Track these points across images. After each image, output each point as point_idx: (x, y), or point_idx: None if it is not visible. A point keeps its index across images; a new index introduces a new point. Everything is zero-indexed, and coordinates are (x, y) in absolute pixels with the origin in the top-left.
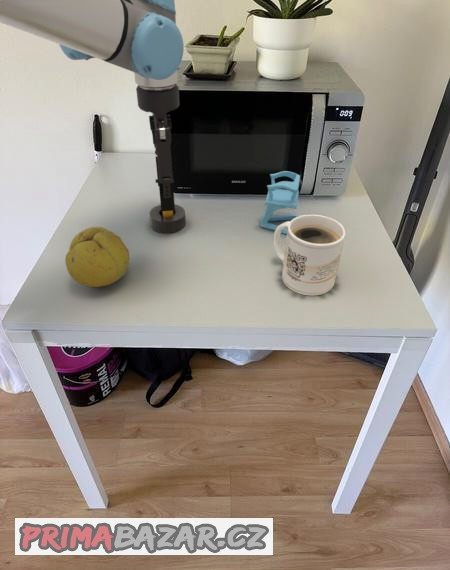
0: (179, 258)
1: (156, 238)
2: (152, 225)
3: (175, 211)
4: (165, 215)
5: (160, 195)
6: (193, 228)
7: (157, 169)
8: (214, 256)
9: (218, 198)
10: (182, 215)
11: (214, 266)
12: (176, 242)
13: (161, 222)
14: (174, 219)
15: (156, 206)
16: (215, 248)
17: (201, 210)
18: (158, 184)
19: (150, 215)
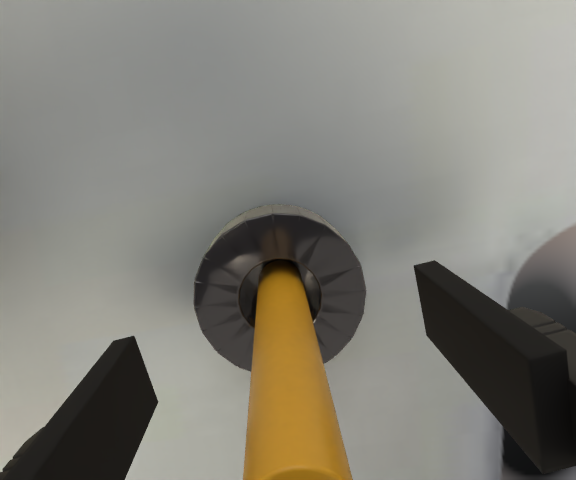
0: (45, 359)
1: (165, 249)
2: (225, 226)
3: None
4: (258, 292)
5: (64, 405)
6: None
7: (468, 314)
8: None
9: (499, 439)
10: None
11: None
12: (149, 331)
13: (195, 284)
14: (219, 341)
15: (333, 236)
16: (134, 467)
17: (400, 388)
18: (419, 271)
19: (241, 224)
